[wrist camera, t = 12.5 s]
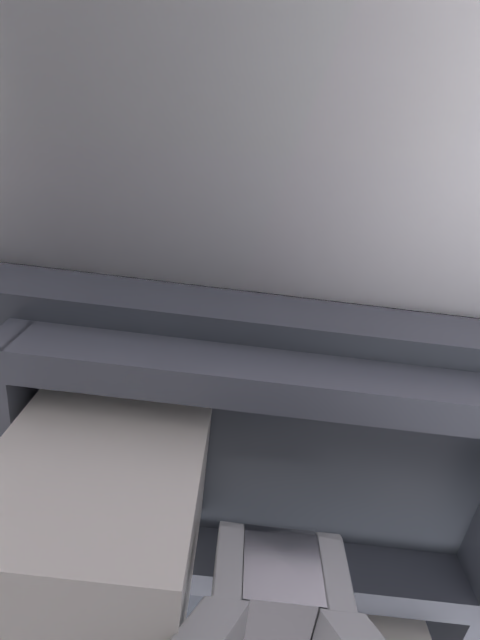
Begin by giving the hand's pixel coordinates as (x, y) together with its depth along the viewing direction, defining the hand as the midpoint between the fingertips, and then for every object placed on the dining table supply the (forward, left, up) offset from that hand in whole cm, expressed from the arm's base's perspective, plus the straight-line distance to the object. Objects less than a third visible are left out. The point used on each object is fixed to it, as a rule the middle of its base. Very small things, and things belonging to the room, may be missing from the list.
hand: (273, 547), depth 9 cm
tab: (0, -4, -2) cm, 4 cm away
